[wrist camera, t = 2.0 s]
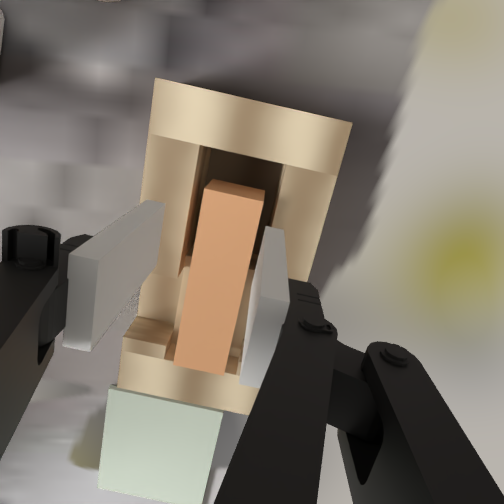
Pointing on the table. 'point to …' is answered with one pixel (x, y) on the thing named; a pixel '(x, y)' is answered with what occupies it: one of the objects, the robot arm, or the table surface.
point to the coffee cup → (108, 0)
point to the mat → (157, 446)
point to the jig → (188, 210)
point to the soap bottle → (1, 27)
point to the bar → (217, 274)
